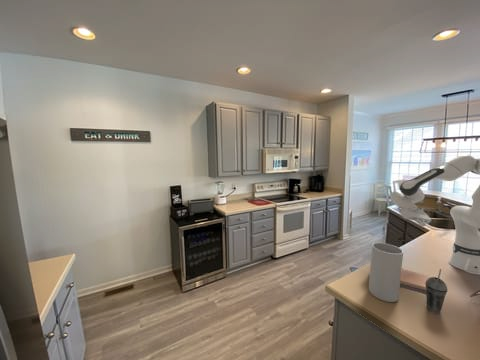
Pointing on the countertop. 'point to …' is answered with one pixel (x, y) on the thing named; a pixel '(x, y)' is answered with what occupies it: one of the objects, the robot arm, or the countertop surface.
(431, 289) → the beverage cup
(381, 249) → the cylinder vase
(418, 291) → the mat
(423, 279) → the tile
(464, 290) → the countertop surface
